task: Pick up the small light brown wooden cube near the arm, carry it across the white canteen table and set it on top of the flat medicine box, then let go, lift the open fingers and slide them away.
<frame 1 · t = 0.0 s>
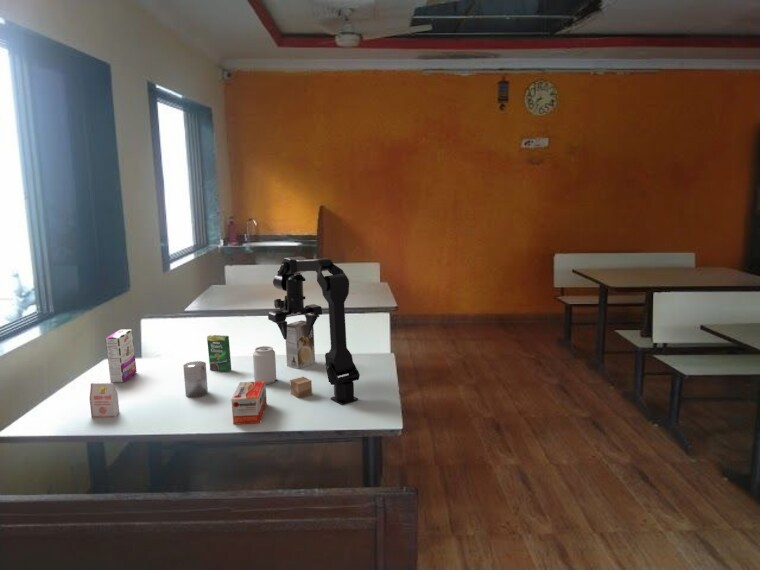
hand: (296, 337, 209), 15 cm above the table, fingers open, 9 cm apart
white paper food packet: (105, 415, 181), on the table
candy bar box: (123, 378, 214), on the table
medicine box: (250, 415, 180), on the table
coffee box 2: (220, 370, 221), on the table
grey metal cylinder: (196, 393, 197), on the table
can: (265, 382, 208), on the table
coffee box: (301, 365, 226), on the table
light brown wooden cube: (301, 394, 195), on the table
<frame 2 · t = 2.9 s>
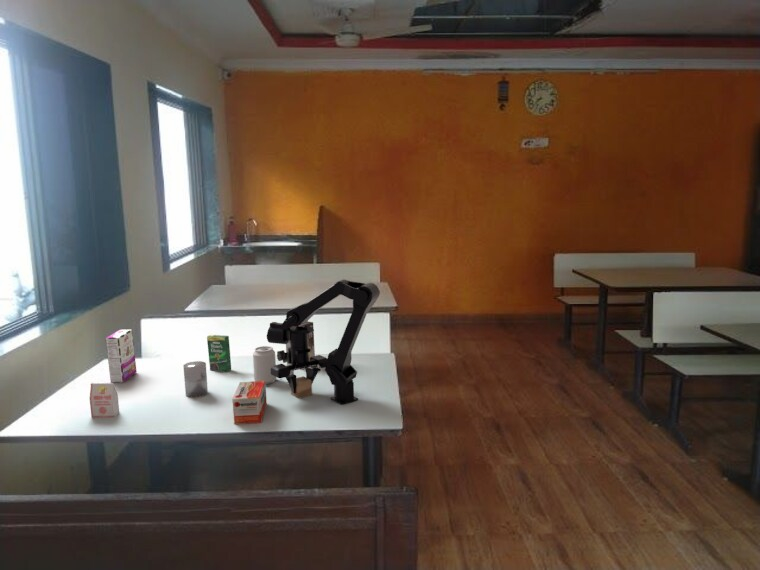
hand: (301, 391, 195), 1 cm above the table, fingers closed on light brown wooden cube, 5 cm apart
light brown wooden cube: (301, 394, 195), on the table, touching gripper
everything else where it was.
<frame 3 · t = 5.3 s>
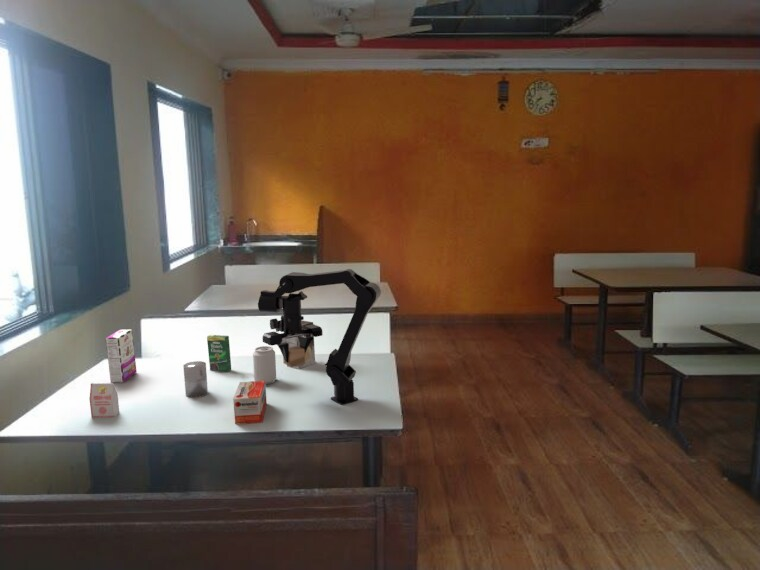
hand: (294, 360, 191), 12 cm above the table, fingers closed on light brown wooden cube, 5 cm apart
light brown wooden cube: (294, 363, 191), point 11 cm above the table, touching gripper
everything else where it was.
when the fingers open (10 cm above the table, at t = 7.8 s): light brown wooden cube drops 1 cm, resting on medicine box.
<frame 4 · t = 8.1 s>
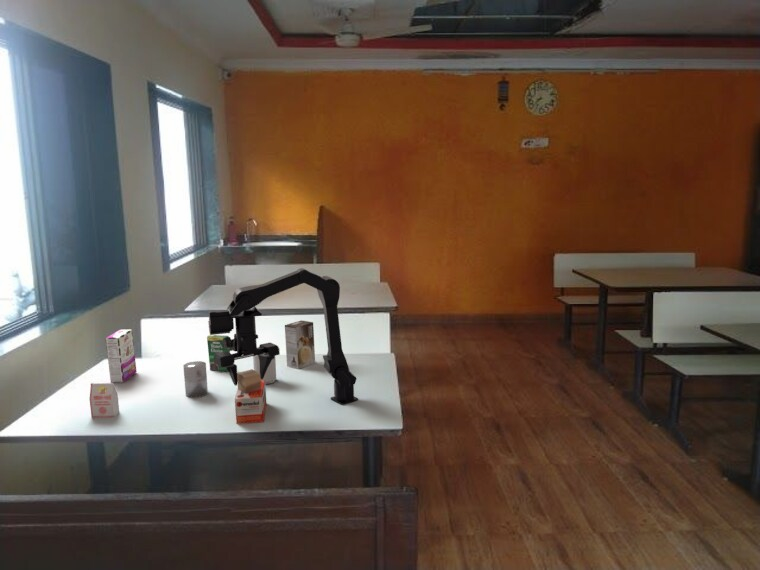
hand: (248, 382, 178), 10 cm above the table, fingers open, 8 cm apart
medicine box: (252, 414, 180), on the table, touching light brown wooden cube
light brown wooden cube: (249, 389, 179), point 8 cm above the table, touching medicine box
everything else where it was.
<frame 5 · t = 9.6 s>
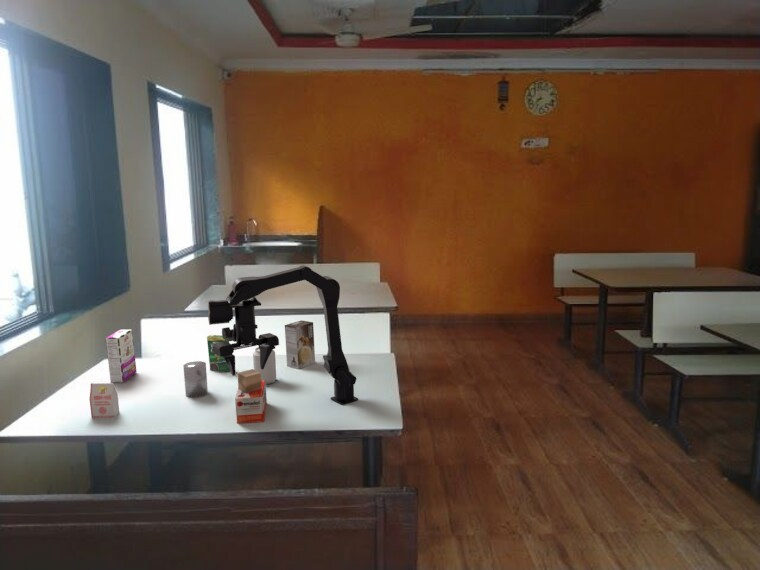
hand: (248, 372, 178), 13 cm above the table, fingers open, 9 cm apart
nothing on the table moved.
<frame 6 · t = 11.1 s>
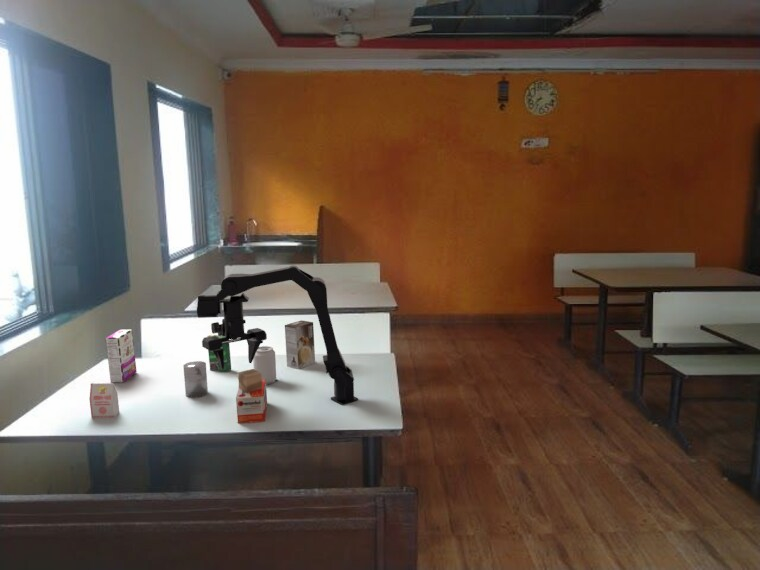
hand: (236, 365, 184), 13 cm above the table, fingers open, 9 cm apart
nothing on the table moved.
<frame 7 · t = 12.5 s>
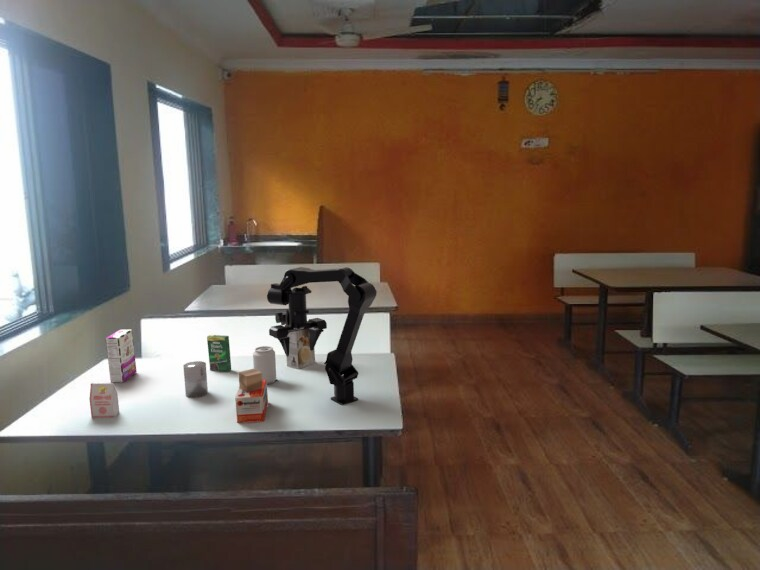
hand: (299, 353, 196), 13 cm above the table, fingers open, 9 cm apart
nothing on the table moved.
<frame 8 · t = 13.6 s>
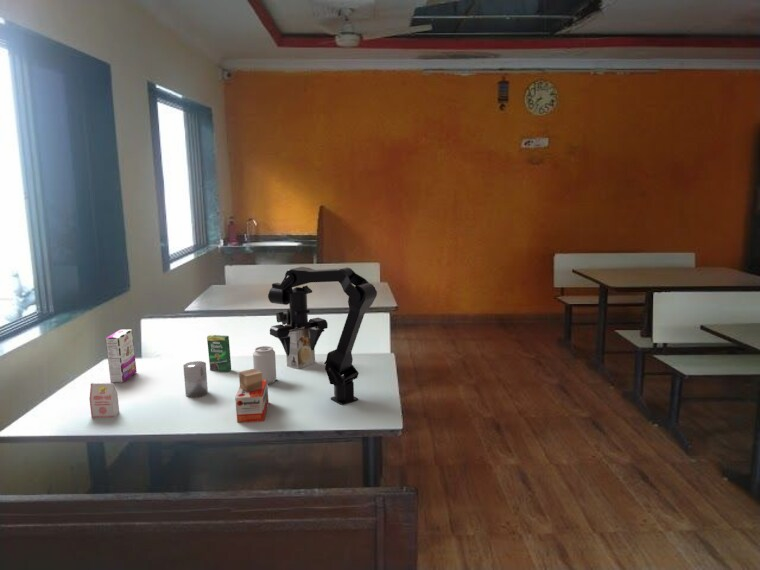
hand: (300, 352, 196), 13 cm above the table, fingers open, 9 cm apart
nothing on the table moved.
at the end: light brown wooden cube 0.3 cm from the medicine box (horizontally); light brown wooden cube point 7.7 cm above the table; the gripper is holding nothing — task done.
